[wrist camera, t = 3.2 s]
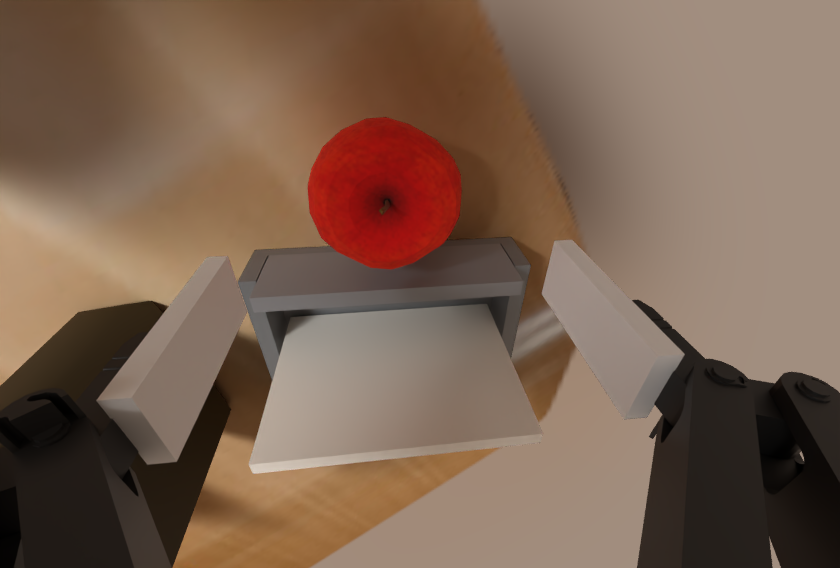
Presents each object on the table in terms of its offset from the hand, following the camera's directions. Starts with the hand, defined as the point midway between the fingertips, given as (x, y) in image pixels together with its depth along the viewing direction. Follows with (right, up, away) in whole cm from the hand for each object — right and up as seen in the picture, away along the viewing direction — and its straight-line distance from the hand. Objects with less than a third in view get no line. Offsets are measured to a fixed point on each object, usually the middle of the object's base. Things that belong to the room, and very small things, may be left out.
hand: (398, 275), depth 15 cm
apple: (-2, +8, +11) cm, 14 cm away
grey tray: (-2, -5, +20) cm, 21 cm away
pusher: (-2, -5, +18) cm, 19 cm away
